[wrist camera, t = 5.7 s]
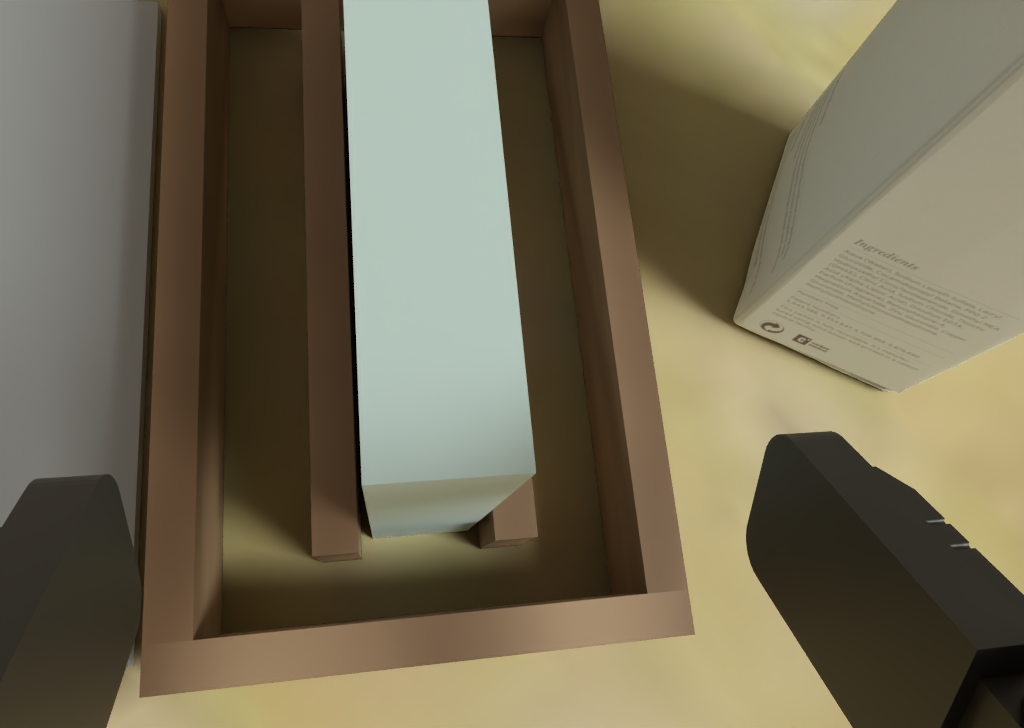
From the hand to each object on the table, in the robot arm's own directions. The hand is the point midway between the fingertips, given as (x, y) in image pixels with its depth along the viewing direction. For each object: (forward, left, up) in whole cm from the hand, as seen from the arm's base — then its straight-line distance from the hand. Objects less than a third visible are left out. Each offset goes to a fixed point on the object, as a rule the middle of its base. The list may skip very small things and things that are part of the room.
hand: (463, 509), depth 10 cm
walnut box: (0, +8, -11) cm, 13 cm away
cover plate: (0, +8, -11) cm, 14 cm away
